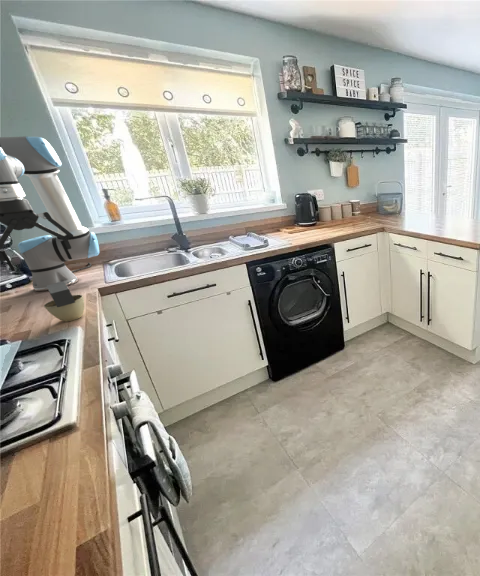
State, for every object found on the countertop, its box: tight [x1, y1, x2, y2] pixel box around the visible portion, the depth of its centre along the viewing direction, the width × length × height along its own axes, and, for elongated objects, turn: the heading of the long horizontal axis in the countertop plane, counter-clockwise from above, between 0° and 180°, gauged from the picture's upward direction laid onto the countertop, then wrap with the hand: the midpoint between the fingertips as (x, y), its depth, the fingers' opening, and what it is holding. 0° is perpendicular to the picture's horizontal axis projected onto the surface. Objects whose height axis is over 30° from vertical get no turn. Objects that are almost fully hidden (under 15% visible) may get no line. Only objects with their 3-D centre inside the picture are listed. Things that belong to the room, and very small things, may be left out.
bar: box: [47, 282, 75, 307], centre depth 107 cm, size 14×4×5 cm, turn 50°
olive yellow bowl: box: [43, 294, 85, 323], centre depth 110 cm, size 10×10×7 cm
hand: (43, 264), depth 104 cm, fingers open, 13 cm apart
